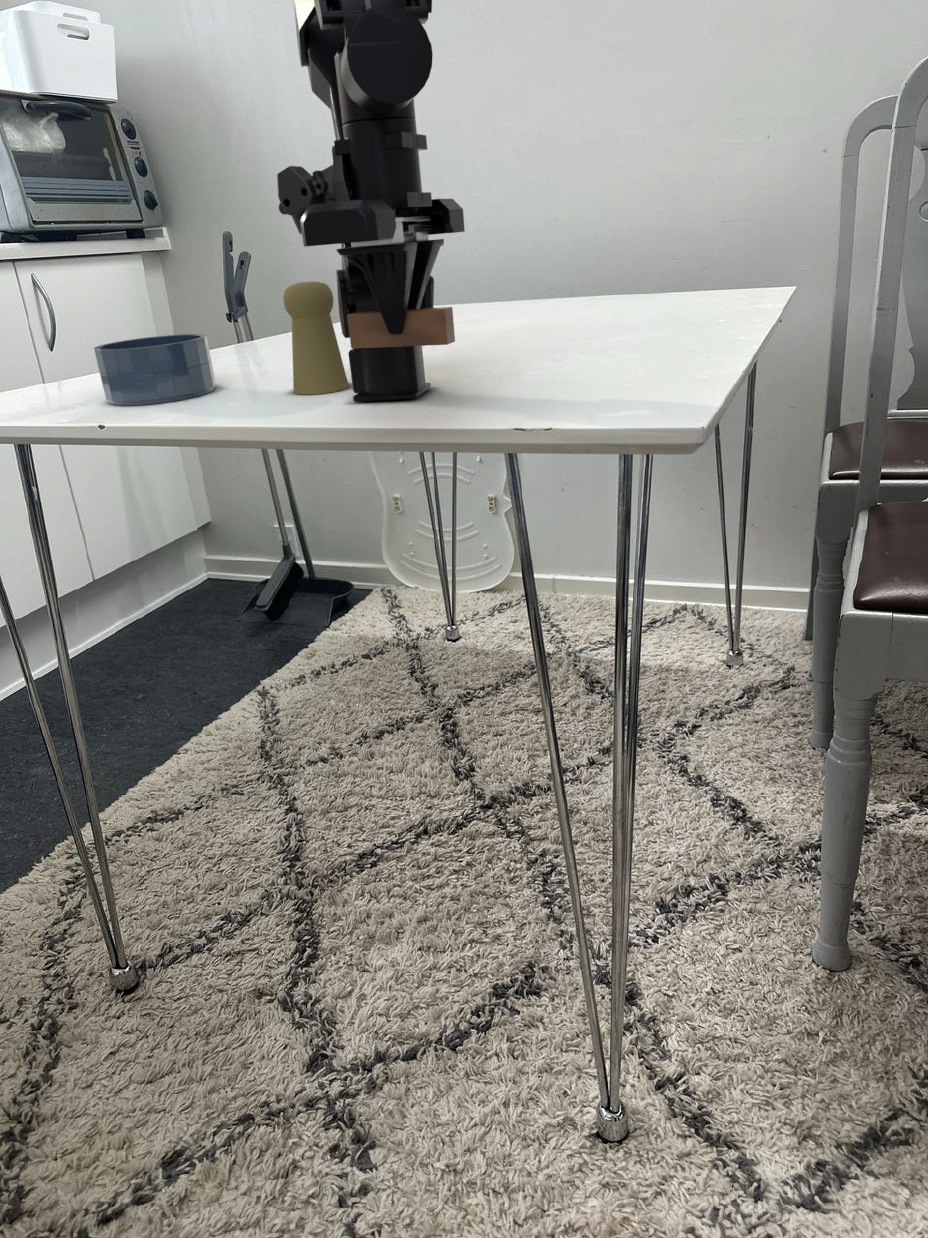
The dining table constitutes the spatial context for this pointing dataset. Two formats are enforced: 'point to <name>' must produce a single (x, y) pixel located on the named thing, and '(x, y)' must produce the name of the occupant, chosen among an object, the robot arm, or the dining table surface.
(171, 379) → the bowl
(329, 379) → the cork
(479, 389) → the dining table surface
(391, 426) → the dining table surface
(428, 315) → the walnut wood brick
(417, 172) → the robot arm
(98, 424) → the dining table surface
